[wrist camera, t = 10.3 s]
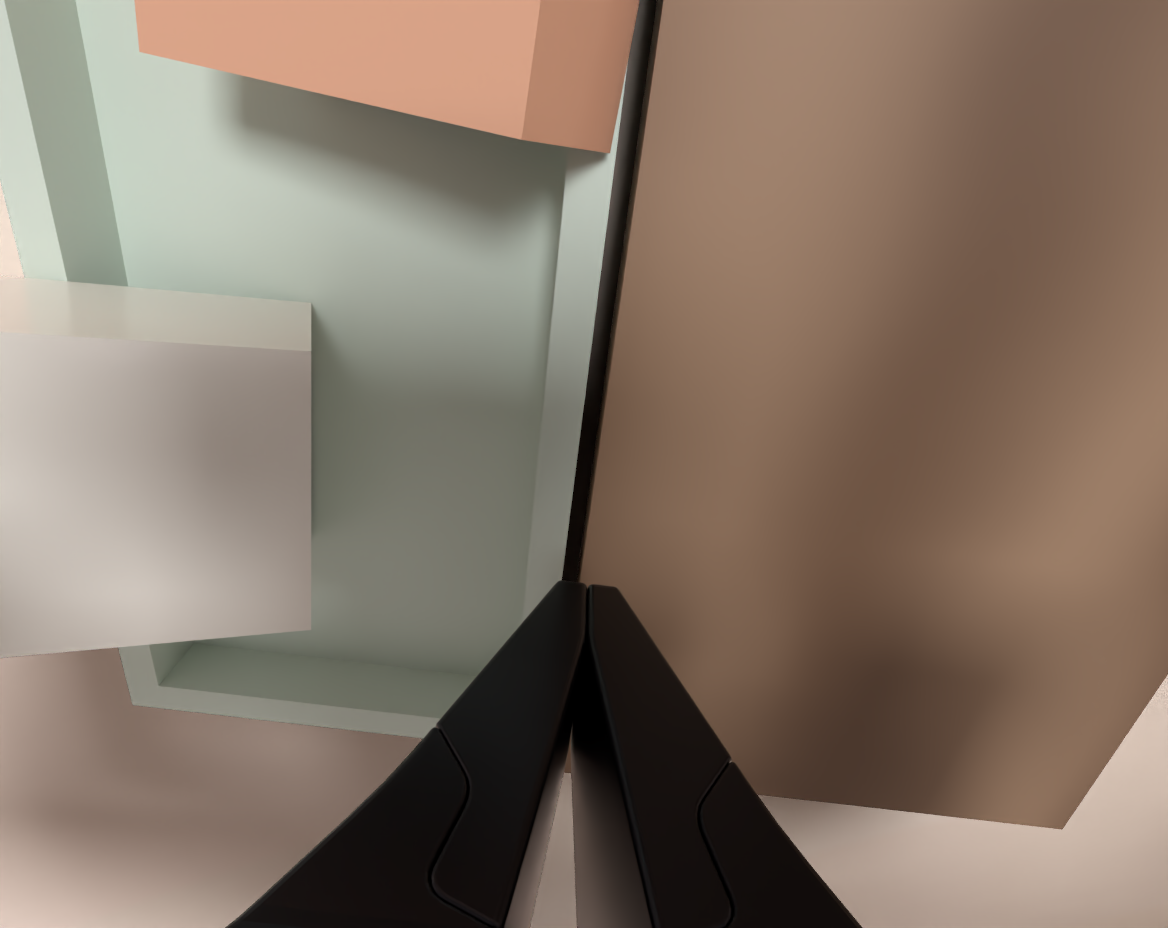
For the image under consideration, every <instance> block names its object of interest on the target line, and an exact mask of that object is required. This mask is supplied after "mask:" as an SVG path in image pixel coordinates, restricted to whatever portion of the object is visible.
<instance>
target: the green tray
mask: <svg viewBox="0 0 1168 928" xmlns="http://www.w3.org/2000/svg"><path fill="white" fill-rule="evenodd" d="M627 64H628V63H627ZM626 72H627V68H626ZM625 80H626V73H625V78H624V84H623V89H622V94H621V99H620V104H619V109H618V115H617V120H616V125H615V130H614V135H613V140H612V145H611V151H610V153H603V152H597V151H591V150H584V149H578V148H571V147H565V146H558V145H552V144H545V143H539V142H532V141H526V140H520V139H516V138H511V137H507V136H503V135H498V134H494V133H490V132H485V131H481V130H477V129H472V128H468V127H464V126H459V125H455V124H451V123H446V122H442V121H438V120H433V119H429V118H424V117H420V116H416V115H411V114H407V113H403V112H398V111H394V110H390V109H385V108H381V107H377V106H372V105H368V104H364V103H359V102H355V101H351V100H346V99H342V98H338V97H333V96H329V95H324V94H320V93H316V92H311V91H307V90H303V89H298V88H294V87H290V86H285V85H281V84H277V83H272V82H268V81H264V80H259V79H255V78H251V77H246V76H242V75H237V74H233V73H229V72H224V71H220V70H216V69H211V68H207V67H203V66H198V65H194V64H190V63H185V62H181V61H177V60H172V59H168V58H164V57H159V56H155V55H151V54H146V53H142V52H139V43H138V32H137V22H136V12H135V1H134V0H0V182H1V186H2V190H3V194H4V198H5V202H6V206H7V210H8V214H9V218H10V222H11V226H12V230H13V234H14V238H15V242H16V245H17V249H18V253H19V257H20V261H21V265H22V269H23V273H24V277H25V278H35V279H47V280H58V281H69V282H81V283H92V284H103V285H115V286H126V287H137V288H149V289H160V290H171V291H183V292H194V293H205V294H216V295H228V296H239V297H250V298H262V299H273V300H284V301H296V302H307V303H311V630H304V631H293V632H282V633H271V634H260V635H249V636H238V637H227V638H216V639H205V640H194V641H183V642H172V643H161V644H150V645H138V646H127V647H118V649H119V653H120V657H121V661H122V665H123V669H124V673H125V677H126V681H127V685H128V689H129V693H130V697H131V701H132V705H135V706H144V707H152V708H161V709H170V710H178V711H187V712H196V713H205V714H213V715H222V716H231V717H239V718H248V719H257V720H266V721H274V722H283V723H292V724H300V725H309V726H318V727H327V728H335V729H344V730H353V731H361V732H370V733H379V734H388V735H396V736H405V737H414V738H422V739H423V738H424V737H425V736H426V735H427V733H428V732H429V731H430V730H431V729H432V728H433V727H436V723H437V722H438V721H439V720H440V719H441V717H442V716H443V715H444V714H445V713H446V712H447V710H448V709H449V708H450V707H451V706H452V704H453V703H454V702H455V701H456V700H457V699H458V697H459V696H460V695H461V694H462V693H463V692H464V690H465V689H466V688H467V687H468V686H469V685H470V683H471V682H472V681H473V680H474V679H475V677H476V676H477V675H478V674H479V673H480V672H481V670H482V669H483V668H484V667H485V666H486V665H487V663H488V662H489V661H490V660H491V659H492V657H493V656H494V655H495V654H496V653H497V652H498V650H499V649H500V648H501V647H502V646H503V645H504V643H505V642H506V641H507V640H508V639H509V638H510V636H511V635H512V634H513V633H514V632H515V630H516V629H517V628H518V627H519V626H520V625H521V623H522V622H523V621H524V620H525V619H526V618H527V616H528V615H529V614H530V613H531V612H532V610H533V609H534V608H535V607H536V606H537V605H538V603H539V602H540V601H541V600H542V599H543V598H544V596H545V595H546V594H547V593H548V592H549V591H550V589H551V588H552V587H553V586H554V585H555V584H556V583H557V582H558V581H560V580H562V574H563V566H564V558H565V550H566V543H567V535H568V527H569V519H570V511H571V503H572V496H573V488H574V480H575V472H576V464H577V456H578V449H579V441H580V433H581V425H582V417H583V409H584V402H585V394H586V386H587V378H588V370H589V362H590V354H591V347H592V339H593V331H594V323H595V315H596V307H597V300H598V292H599V284H600V276H601V268H602V260H603V253H604V245H605V237H606V229H607V221H608V213H609V206H610V198H611V190H612V182H613V174H614V166H615V158H616V151H617V143H618V135H619V127H620V119H621V111H622V104H623V96H624V88H625Z"/></svg>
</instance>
